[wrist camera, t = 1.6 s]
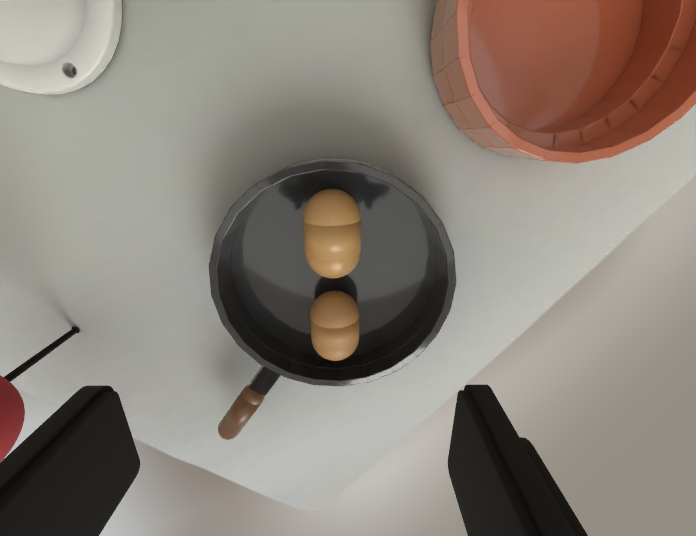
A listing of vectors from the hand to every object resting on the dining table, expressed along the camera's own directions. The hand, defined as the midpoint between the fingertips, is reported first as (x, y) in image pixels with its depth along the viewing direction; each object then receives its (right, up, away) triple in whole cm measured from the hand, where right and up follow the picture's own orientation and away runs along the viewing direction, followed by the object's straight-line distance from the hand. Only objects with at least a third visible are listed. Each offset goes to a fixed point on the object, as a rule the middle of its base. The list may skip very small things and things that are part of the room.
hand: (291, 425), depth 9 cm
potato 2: (0, 0, +20) cm, 20 cm away
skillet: (0, +4, +19) cm, 19 cm away
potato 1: (0, +8, +17) cm, 18 cm away
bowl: (+15, +20, +13) cm, 28 cm away
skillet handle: (-7, -7, +21) cm, 23 cm away
